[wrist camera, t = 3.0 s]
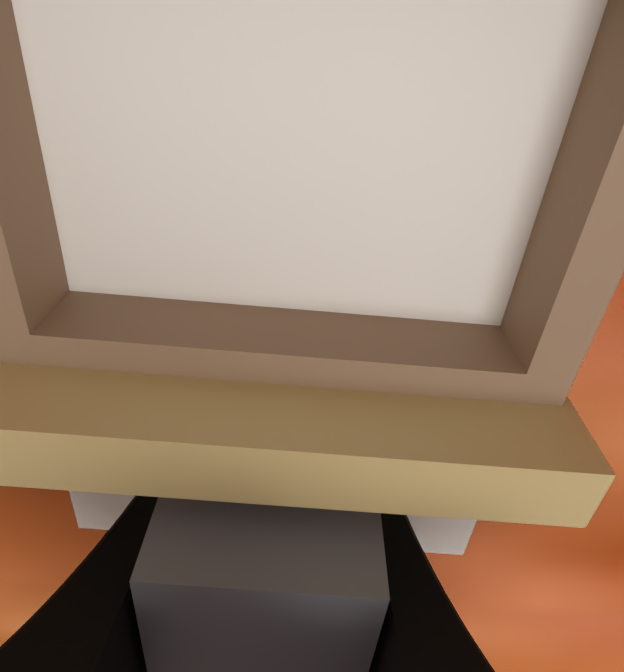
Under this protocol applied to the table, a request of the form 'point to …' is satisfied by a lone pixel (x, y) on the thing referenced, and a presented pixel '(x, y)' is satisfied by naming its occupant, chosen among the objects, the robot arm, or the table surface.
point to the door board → (309, 253)
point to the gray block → (259, 588)
